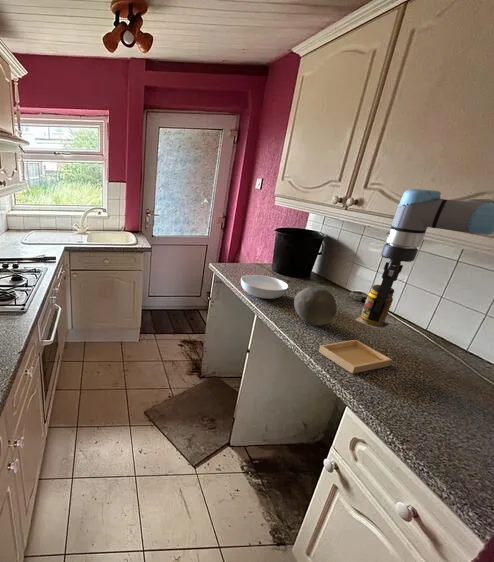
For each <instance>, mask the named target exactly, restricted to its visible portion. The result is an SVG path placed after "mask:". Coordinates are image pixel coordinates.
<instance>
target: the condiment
mask: <svg viewBox="0 0 494 562" xmlns="http://www.w3.org/2000/svg"><path fill="white" fill-rule="evenodd" d="M380 286H381V284H373V285H372V287H371V290H370V292H369V293H368V294H367V296H366V300H365V302H364V305H363V308H362V311H361V313H360V314H361V315H360V316H358V317H357V318H355V319H354V321H356V322H358V323H361V324H364V325H366V326H370V327H372V328H375V329H379V330H381V331H382V330H383V329H385V328H386V327H388V326H389V325H391V324H392V322H391V321H388V320H386V319H387V317H388V315H389V312H390V309H391V306H392V303H393V301H394V299H393V297H394V293H395V289H394V288H393V287H391V290H390V292H389V295H388V297H387V302H386V304H385V306H384V309H383V312H382V314H381V317H380V319H379V322H376V321H372V320H369V319H368V316H369V314H370V311H371V308H372V305H373V303H374V300H372V298H376V296H377V294H378V291H379V288H380Z"/></svg>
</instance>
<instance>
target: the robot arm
mask: <svg viewBox="0 0 494 562" xmlns="http://www.w3.org/2000/svg"><path fill="white" fill-rule="evenodd" d="M441 194H442V192H441V190H432V189H421V188H420V189H419V188H418V189H417V188H412V189H406V191H404V192H403V194H402V197H401V199H400V201H399V203H398V205H397V208H396V211H395V215H394V216H393V219H392V223H391V226H390V228H389V231H386V232H385V235H387V237H386V240H385V242H386V243H385V244H384V245H383V248H382V250H381V254H380V255H381V257H382V258H384V259H389V261H386V262H385V264H384V266H383V272H382V275H381V279H382V281H381V283H380V285H381V286H380V288H379V291H378V294H377V296H376V298H372V300H374V303H373V305H372V308H371V311H370V314H369V316H368V319H369V320H372V321H376V322H379V319H380V317H381V314H382V312H383V309H384V306H385V304H386V302H387V297H388V295H389V292H390V290H391V288H393V284H394V282H396V281H397V280H398V277H399V276H400V275H399V274H400V273H401V272H402V270H403V267H404V264H401V263H402V262H404V263H412V262H414V261H415V259H416V257H417V254H418V252H419V249H418V248H420V247H421V245H422V243H423V240H424V239H425V238H424V237H425V236H426V232H427V229H428V228H431V229H440V230H446V231H452V232H453V231H454V232H460V233H467V234H471V235H485V236H489V235H492V234H494V201H493V200H490V199H470V198H468V199H469V200H465V199H463V200H464V201H463V200H454V199H445V198H441Z"/></svg>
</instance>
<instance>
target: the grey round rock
mask: <svg viewBox="0 0 494 562" xmlns="http://www.w3.org/2000/svg"><path fill="white" fill-rule="evenodd" d="M293 304H294V305H293V306H294V310H295V313H296V314H297V315H298V317H299V318H300V319H302V320H303V321H304V322H306V323H308V324H309V325H313V326H324V325H328V324H329V323H330V322H331V321H332V320H333V318H334V317H335V315H336V313H337V310H338V309H337V306H338V305H337V302H336V299H335V297H334V295H333V294H332V293H331V292H329V291H328V290H326V289H324V288H321V287H316V286H314V287H313V286H311V287H306V288H304V289H302V290H301V291H299V292H298V293H297V294H296V295H295V297H294V300H293Z"/></svg>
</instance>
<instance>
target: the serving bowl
mask: <svg viewBox="0 0 494 562" xmlns="http://www.w3.org/2000/svg"><path fill="white" fill-rule="evenodd" d="M240 285H241V287H242V289H243V290H244V291H245V292H246V293H247V294H249V295H251V296H254V297H255V298H256V297H257V298H260V299H270V300H273V299H277V298H280V297H283V296H284V295H285V294H286V293H287V291H288V289H289V285H288V284H287V283H286V282H285V281H283V280H281V279H278V278H276V277H272V276H267V275H262V274H247V275H243V276H241V278H240Z"/></svg>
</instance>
